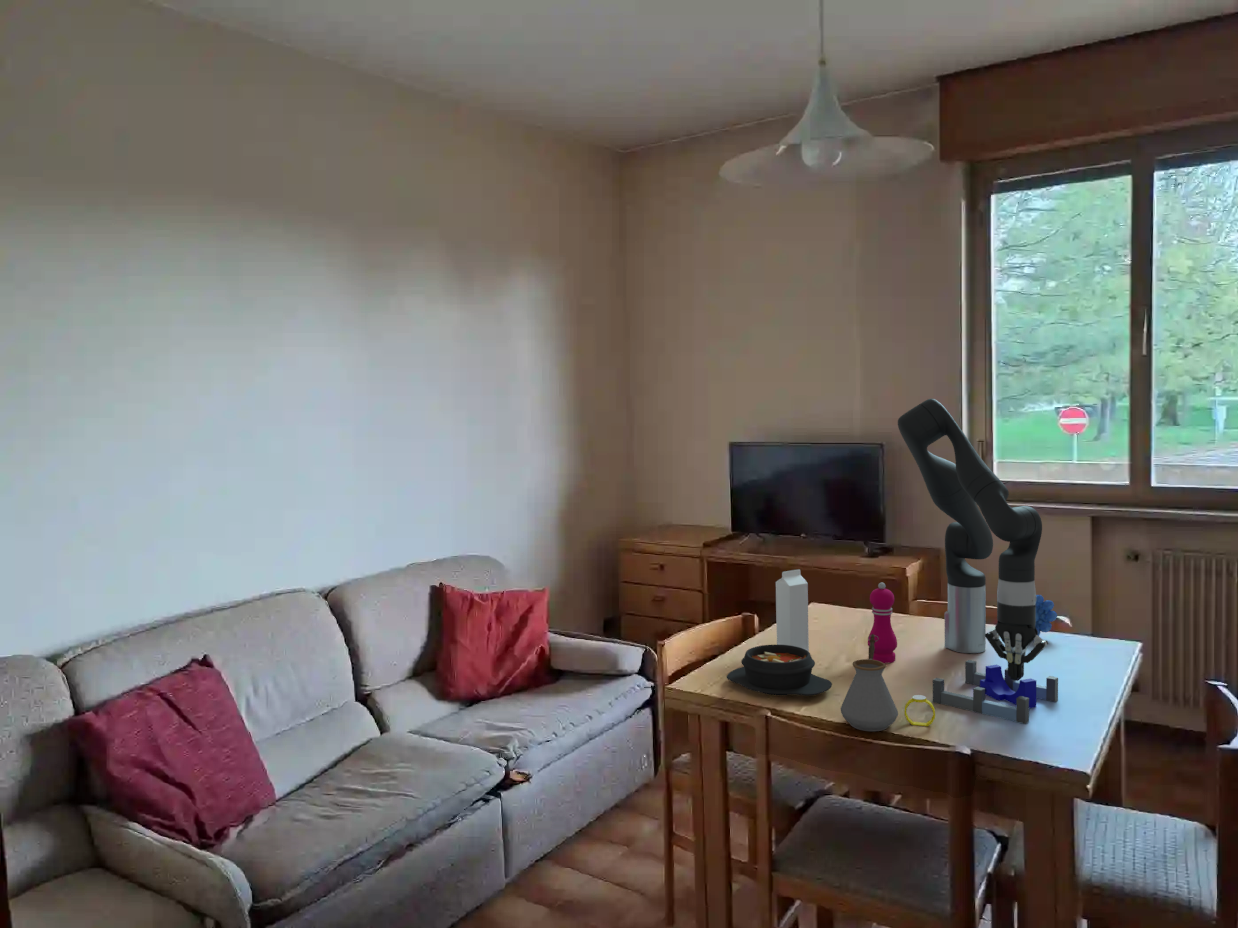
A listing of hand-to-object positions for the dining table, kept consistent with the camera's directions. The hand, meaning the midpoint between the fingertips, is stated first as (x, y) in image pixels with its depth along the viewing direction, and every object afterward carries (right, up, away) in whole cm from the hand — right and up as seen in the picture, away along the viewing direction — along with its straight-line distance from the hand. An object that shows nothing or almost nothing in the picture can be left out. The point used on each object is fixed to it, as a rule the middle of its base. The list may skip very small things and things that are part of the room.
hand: (1015, 679), depth 190 cm
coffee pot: (-32, -7, -2) cm, 33 cm away
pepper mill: (-18, -4, +35) cm, 40 cm away
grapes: (+27, -1, +50) cm, 57 cm away
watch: (-23, -8, -8) cm, 26 cm away
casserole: (-48, -6, +17) cm, 51 cm away
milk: (-39, -4, +43) cm, 59 cm away
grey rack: (-3, -6, +4) cm, 7 cm away
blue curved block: (0, -6, +5) cm, 7 cm away
